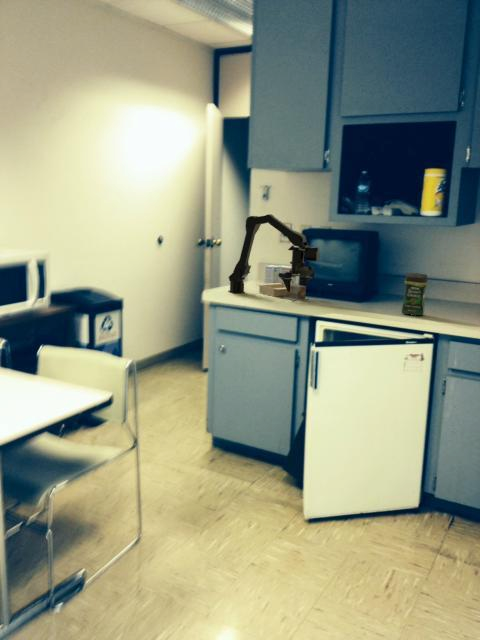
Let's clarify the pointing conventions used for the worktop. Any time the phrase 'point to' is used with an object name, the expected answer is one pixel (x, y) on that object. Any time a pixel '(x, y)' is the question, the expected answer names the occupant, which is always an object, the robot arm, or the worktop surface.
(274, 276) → the light bulb box
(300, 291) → the gray and brown box
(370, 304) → the worktop surface
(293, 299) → the mat
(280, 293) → the beige open box
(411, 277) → the coffee jar
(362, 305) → the worktop surface
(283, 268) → the ink box
